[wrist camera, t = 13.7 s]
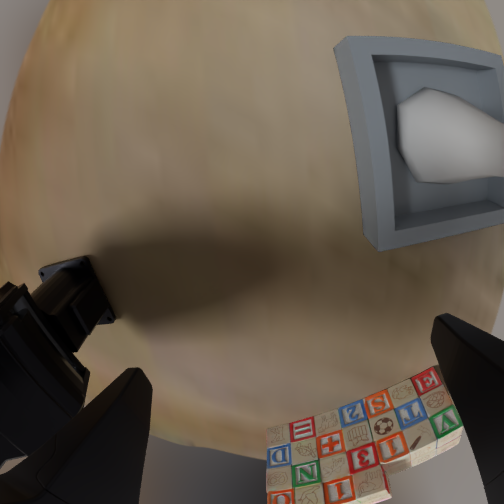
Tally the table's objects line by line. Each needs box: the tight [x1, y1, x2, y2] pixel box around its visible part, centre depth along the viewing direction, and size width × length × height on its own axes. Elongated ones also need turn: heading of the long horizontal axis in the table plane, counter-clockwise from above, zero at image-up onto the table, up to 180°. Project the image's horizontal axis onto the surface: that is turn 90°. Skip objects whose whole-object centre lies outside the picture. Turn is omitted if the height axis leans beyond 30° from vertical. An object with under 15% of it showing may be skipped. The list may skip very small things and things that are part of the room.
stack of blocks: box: [266, 367, 463, 504], centre depth 24 cm, size 21×6×12 cm, turn 117°
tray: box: [333, 36, 504, 252], centre depth 15 cm, size 13×13×3 cm
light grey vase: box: [397, 87, 504, 185], centre depth 11 cm, size 7×7×10 cm
